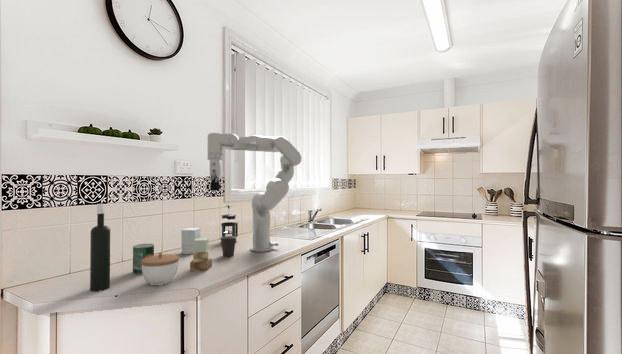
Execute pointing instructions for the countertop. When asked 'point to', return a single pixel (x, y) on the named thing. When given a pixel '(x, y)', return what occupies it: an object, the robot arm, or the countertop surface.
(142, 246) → the canned tomato
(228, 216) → the french press
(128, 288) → the countertop surface
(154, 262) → the lidded bowl
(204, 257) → the oak block
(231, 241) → the coffee cup
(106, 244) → the wine bottle
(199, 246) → the sage cube
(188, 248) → the supplement box
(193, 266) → the walnut block
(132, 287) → the countertop surface
